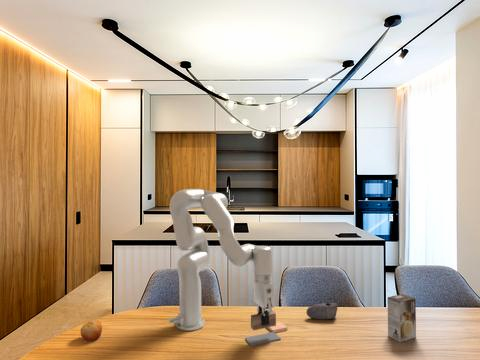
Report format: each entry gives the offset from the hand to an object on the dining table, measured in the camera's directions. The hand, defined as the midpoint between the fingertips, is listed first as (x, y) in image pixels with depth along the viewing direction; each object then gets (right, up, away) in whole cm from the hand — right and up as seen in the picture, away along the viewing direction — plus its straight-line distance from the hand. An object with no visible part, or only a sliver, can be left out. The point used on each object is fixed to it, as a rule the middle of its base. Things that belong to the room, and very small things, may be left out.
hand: (263, 322), depth 132 cm
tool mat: (0, -7, 0) cm, 7 cm away
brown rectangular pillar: (0, -1, 0) cm, 1 cm away
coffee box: (+57, -7, +2) cm, 57 cm away
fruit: (-70, -7, +1) cm, 70 cm away
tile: (+5, -6, +13) cm, 15 cm away
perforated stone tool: (+29, -7, +20) cm, 36 cm away
